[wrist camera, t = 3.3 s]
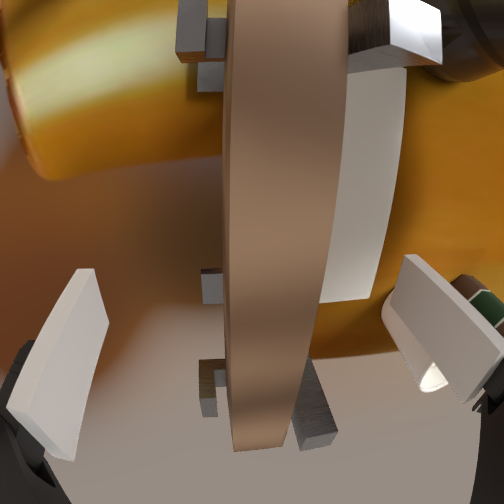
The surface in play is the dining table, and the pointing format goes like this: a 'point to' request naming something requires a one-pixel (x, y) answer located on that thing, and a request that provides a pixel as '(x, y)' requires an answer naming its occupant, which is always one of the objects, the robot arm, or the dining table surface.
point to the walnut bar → (277, 198)
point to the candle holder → (412, 351)
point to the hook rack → (359, 60)
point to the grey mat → (365, 181)
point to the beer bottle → (481, 300)
